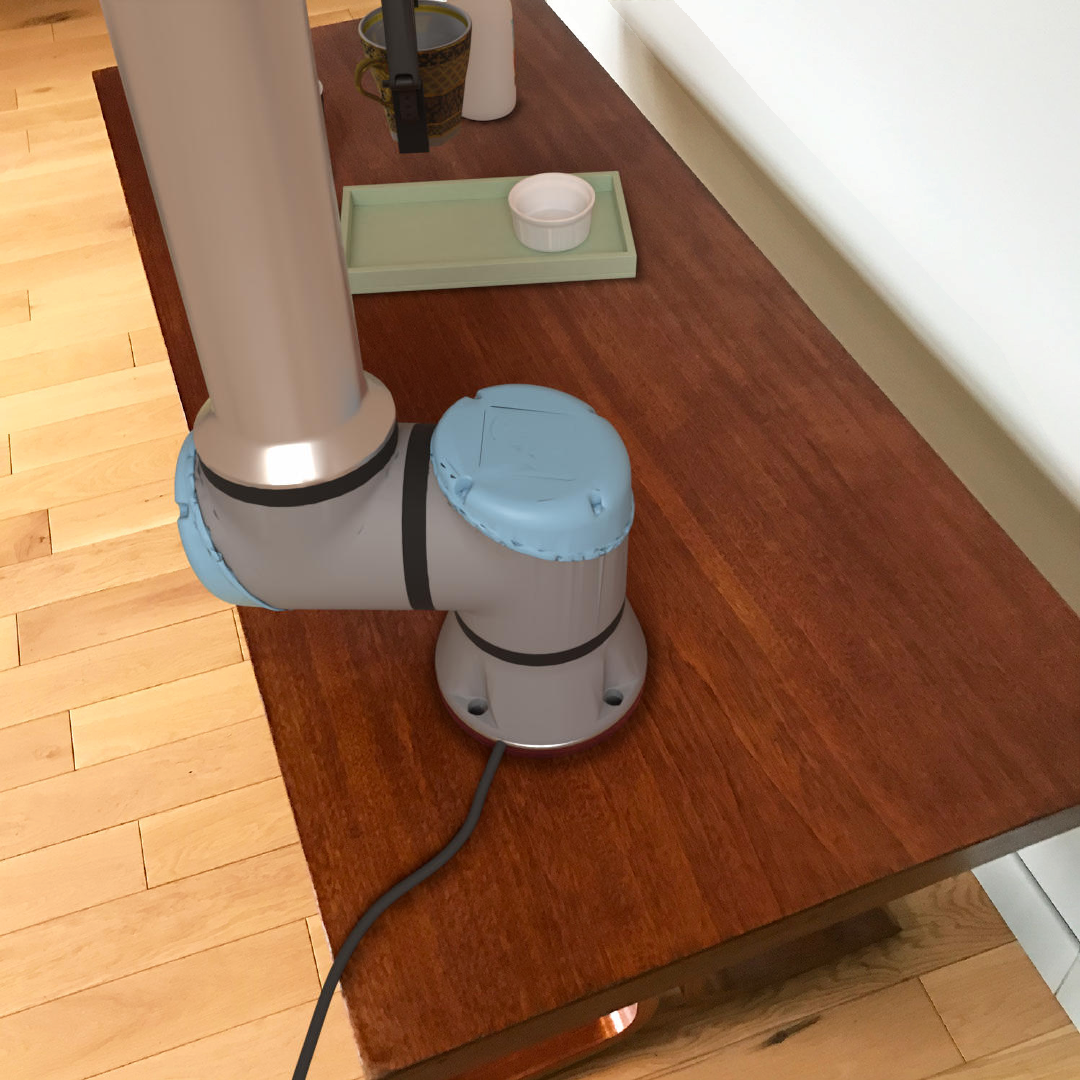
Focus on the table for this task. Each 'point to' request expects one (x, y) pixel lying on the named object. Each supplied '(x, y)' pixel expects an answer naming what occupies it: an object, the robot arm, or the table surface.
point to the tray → (472, 237)
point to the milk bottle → (489, 60)
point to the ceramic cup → (424, 65)
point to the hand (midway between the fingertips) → (414, 120)
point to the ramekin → (552, 211)
